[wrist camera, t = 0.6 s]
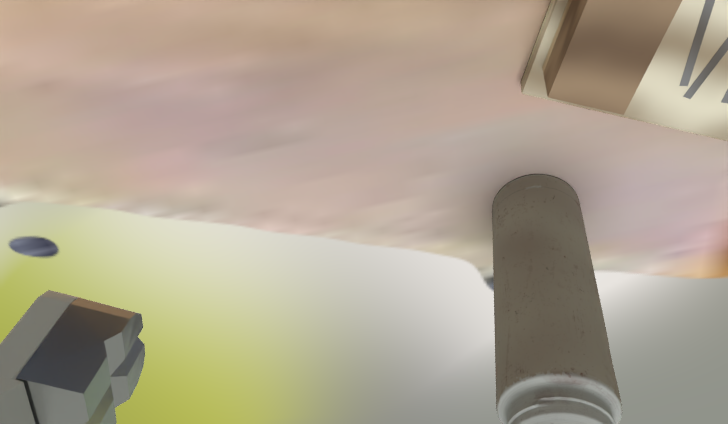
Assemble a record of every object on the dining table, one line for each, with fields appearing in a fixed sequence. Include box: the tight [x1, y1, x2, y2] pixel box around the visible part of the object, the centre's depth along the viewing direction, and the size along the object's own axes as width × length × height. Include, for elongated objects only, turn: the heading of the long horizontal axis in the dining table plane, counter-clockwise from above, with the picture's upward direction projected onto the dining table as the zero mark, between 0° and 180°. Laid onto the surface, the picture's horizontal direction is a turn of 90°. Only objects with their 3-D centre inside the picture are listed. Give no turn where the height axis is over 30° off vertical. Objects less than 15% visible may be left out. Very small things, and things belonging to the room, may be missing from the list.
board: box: [521, 0, 728, 141], centre depth 45 cm, size 14×19×2 cm
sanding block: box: [542, 0, 682, 115], centre depth 42 cm, size 9×6×5 cm, turn 170°
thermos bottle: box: [492, 175, 622, 424], centre depth 46 cm, size 8×8×28 cm
